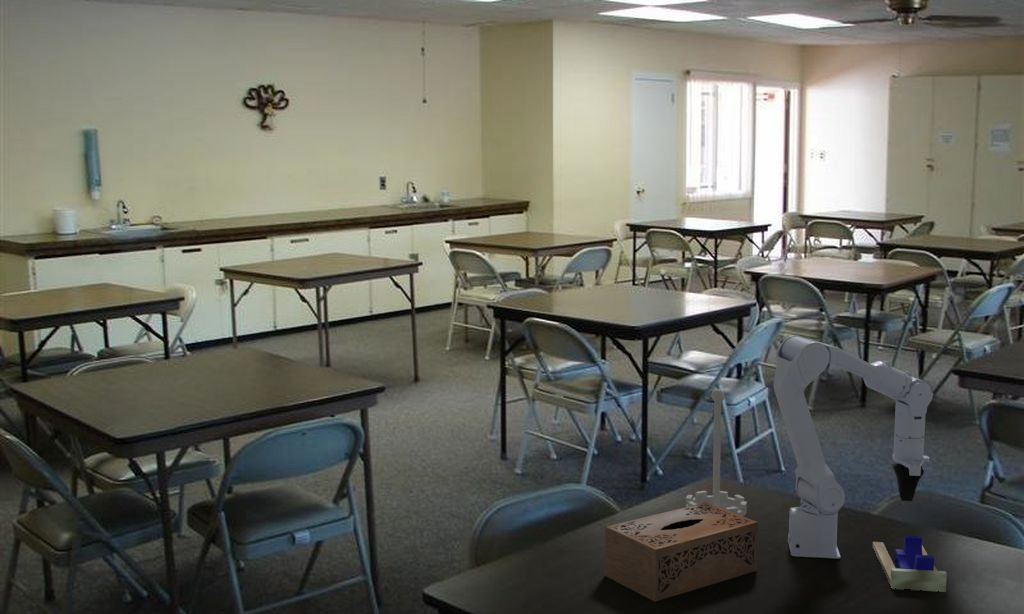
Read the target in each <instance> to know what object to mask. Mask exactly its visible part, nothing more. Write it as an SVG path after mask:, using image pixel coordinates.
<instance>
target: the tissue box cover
mask: <svg viewBox="0 0 1024 614" xmlns="http://www.w3.org/2000/svg"><path fill="white" fill-rule="evenodd" d="M604 530H605V531H604V533H605V534H604V535H605V536H604V537H605V540H604V543H605V544H604V576H605V577H607V578H609V579H611V580H612V581H615V582H616V583H618V584H620V585H622V586H624V587H625V588H628V589H629V590H631V591H633V592H636V593H638V594H639V595H641V596H643V597H645V598H647V599H649V600H650V601H652V602H655V603H656V602H659V601H661V600H662V601H663V600H665V599H668V598H673V597H675V596H677V595H682V594H685V593H688V592H692V591H694V590H697V589H701V588H705V587H707V586H711V585H714V584H718V583H721V582H725V581H728V580H731V579H735V578H738V577H741V576H743V575H748V574H751V573H753V572H757V569H758V543H759V542H758V540H759V539H758V537H759V535H758V533H759V532H758V531H759V522H758V521H756V520H753V519H751V518H748V517H746V516H740V515H738V514H735V513H732V512H730V511H727V510H724V509H722V508H719V507H717V506H714V505H711V504H709V503H706V502H704V503H700V504H696V505H692V506H688V507H686V506H685V507H681V508H675V509H672V510H669V511H668V510H667V511H664V512H660V513H656V514H652V515H647V516H644V517H640V518H635V519H631V520H627V521H623V522H620V523H615V524H611V525H607V526H605V527H604Z"/></svg>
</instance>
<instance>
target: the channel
mask: <svg viewBox="0 0 1024 614" xmlns="http://www.w3.org/2000/svg"><path fill="white" fill-rule="evenodd" d="M872 549H874V550H873V551H875V552H874V554H875V553H876V554H875V556H876V558H877V561H878V560H879V561H878V562H880V563H879V565H880V564H881V565H880V567H881V566H882V567H881V569H882V571H883V570H884V571H883V574H884V573H885V574H884V576H885V575H886V576H885V578H886V577H887V578H886V580H887V579H888V580H887V582H888V585H889V584H890V585H889V586H891V587H890V589H891V588H892V590H904V589H911V590H910V591H920V590H922V591H923V592H924V591H925V592H938V591H939V593H941V592H942V593H946V592H947V579H948V578H947V577H948V575H947V574H948V573H947V572H946V570H938V569H937V568H936V566H935V565H934V571H932V570H915V569H898V568H897V567H896V565H895V563H894V561H893V560H892V558H891V555H890V554H889V552H888V550H887V547H886V546H885V544H884V542H882V541H872ZM922 555H929V554H928V553H927V551H926V549H925V548H924V546H923V545H922ZM895 588H896V589H895Z"/></svg>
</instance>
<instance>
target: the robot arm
mask: <svg viewBox="0 0 1024 614" xmlns="http://www.w3.org/2000/svg"><path fill="white" fill-rule="evenodd" d="M775 358H776V368H775V372H774V377H773V378H774V379H773V390H774V394H775V397H776V400H777V403H778V406H779V410H780V413H781V416H782V419H783V422H784V425H785V429H786V431H787V435H788V438H789V441H790V444H791V447H792V451H793V454H794V457H795V460H796V463H797V467H796V468H795V469H794V473H795V478H796V479H795V489H794V490H795V492H796V495H797V496H798V497H799V498H800V506H795V507H790V508H789V514H788V515H789V516H788V517H789V518H788V535H787V544H788V547H789V551H790V555H791V556H792V557H799V558H800V557H803V558H816V559H817V558H820V559H821V558H822V559H838V560H840V559H841V554H840V551H839V548H838V545H837V543H838V541H837V540H838V516H839V515H838V514H839V510H840V509H841V508H842V507H843V506H844V503H845V501H846V494H845V490H844V488H843V487H842V486H841V485H840V484H839V483H838V481H837V479H836V477H835V475H834V473H833V471H832V470H831V469H830V468H829V466H828V465H827V463H826V461H825V460H826V459H825V457H824V454H823V451H822V448H821V444H820V441H819V437H818V434H817V431H816V428H815V425H814V421H813V418H812V415H811V412H810V408H809V406H808V402H807V398H806V396H805V390H806V388H807V387H808V385H810V383H812V382H813V381H814V380H815V379H816V378H817V377H818V376H819V375H820V374H821V373H823V372H824V371H825V370H826V369H827V370H832V369H833V368H834V367H837V368H840V369H841V370H843V371H847V372H849V373H852V375H856V376H859V377H861V378H863V381H864V382H863V383H864V384H865V387H867V388H869V389H870V390H874V391H875V392H878V393H880V394H881V395H884V396H886V397H889V398H891V399H892V400H893V401H895V411H894V412H895V415H894V433H893V434H894V435H893V453H892V457H891V458H892V460H893V461H894V462H896V463H892V464H891V466H892V468H893V471H894V473H895V477H896V480H897V487H898V494H899V498H900V500H901V501H902V502H903V501H904V502H912V501H913V500H914V497H915V493H916V490H917V487H918V484H919V482H920V480H921V478H922V477H923V475H924V474H925V470H924V469H923V464H924V463H925V462H927V463H928V462H930V459H931V458H930V457H929V456H928V455H924V453H925V451H924V449H925V431H926V428H925V427H926V414H927V413H928V412H927V411H928V407H929V405H930V403H931V401H932V400H933V398H934V393H933V392H931V387H930V385H929V384H928V382H926V380H923V379H920V378H917V377H914V376H911V375H912V373H911V372H909V371H907V370H903V371H902V370H900V369H897V368H896V367H893V362H890V361H887V360H882V361H881V360H877V361H873V362H872V363H871V362H870V363H869V362H867V361H865V360H863V359H861V358H859V357H857V356H854V355H853V354H852V353H849V352H847V351H845V350H844V349H841V348H840V347H837V346H834V345H832V344H827V343H825V342H821V341H817V340H814V339H809V338H804V337H803V336H801V335H798V334H792V335H790V336H788V337H786V338H785V339H783V341H782V342H781V343H780V345H779V347H778V348H777V350H776V352H775Z"/></svg>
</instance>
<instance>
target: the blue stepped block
mask: <svg viewBox="0 0 1024 614" xmlns="http://www.w3.org/2000/svg"><path fill="white" fill-rule="evenodd" d="M922 546H923V538H922V536H921V535H914V534H911V535H910V534H904V535H903V549H898V548H897V549H895V552H894V553H895V555H894V564H895V563H896V564H895V566H896V565H897V566H896V568H897V567H898V568H897V569H915V570H932V571H934V566H935V558H934V556H933V555H929V554H928V555H922Z"/></svg>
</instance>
